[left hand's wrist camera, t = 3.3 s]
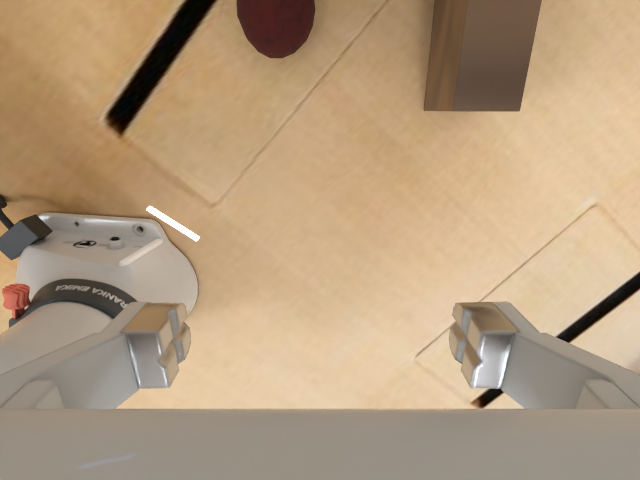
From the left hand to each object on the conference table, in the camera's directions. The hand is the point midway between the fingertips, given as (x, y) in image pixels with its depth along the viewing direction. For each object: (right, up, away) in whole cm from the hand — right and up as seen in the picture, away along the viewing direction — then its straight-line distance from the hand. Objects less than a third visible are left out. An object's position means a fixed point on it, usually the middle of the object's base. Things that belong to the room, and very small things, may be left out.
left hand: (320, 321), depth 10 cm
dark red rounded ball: (-4, +26, +26) cm, 37 cm away
